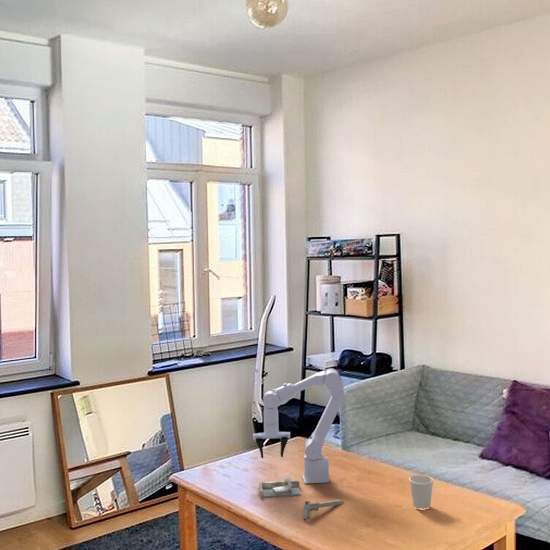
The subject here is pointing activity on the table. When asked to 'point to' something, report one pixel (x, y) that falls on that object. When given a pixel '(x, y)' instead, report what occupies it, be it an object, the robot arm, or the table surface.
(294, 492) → the board
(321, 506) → the caliper
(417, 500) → the dixie cup
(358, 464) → the table surface
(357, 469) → the table surface
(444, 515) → the table surface
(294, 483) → the back wall
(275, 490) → the bracket
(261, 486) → the side wall
